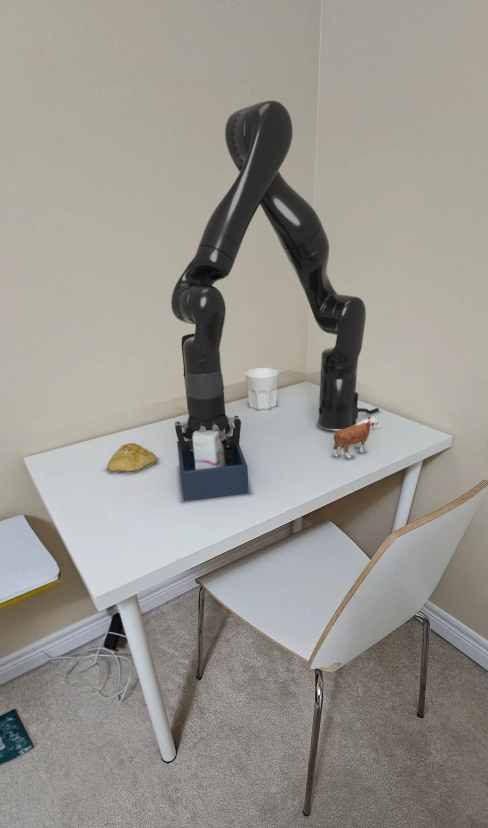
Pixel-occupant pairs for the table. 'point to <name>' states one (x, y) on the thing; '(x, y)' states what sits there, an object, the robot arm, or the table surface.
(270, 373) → the cup
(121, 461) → the fossil
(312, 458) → the table surface
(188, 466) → the box
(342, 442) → the bull figurine
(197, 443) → the ink box
